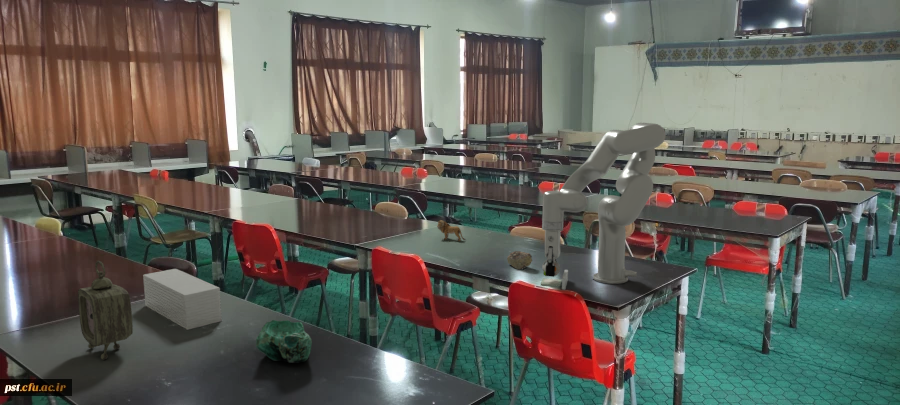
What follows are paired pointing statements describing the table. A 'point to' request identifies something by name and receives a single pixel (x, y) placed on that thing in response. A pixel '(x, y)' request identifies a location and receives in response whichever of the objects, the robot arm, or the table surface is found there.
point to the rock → (519, 259)
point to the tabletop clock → (104, 313)
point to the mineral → (284, 341)
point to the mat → (551, 282)
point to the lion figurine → (449, 230)
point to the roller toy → (557, 267)
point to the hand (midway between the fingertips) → (551, 273)
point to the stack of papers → (182, 298)
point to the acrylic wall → (564, 279)
